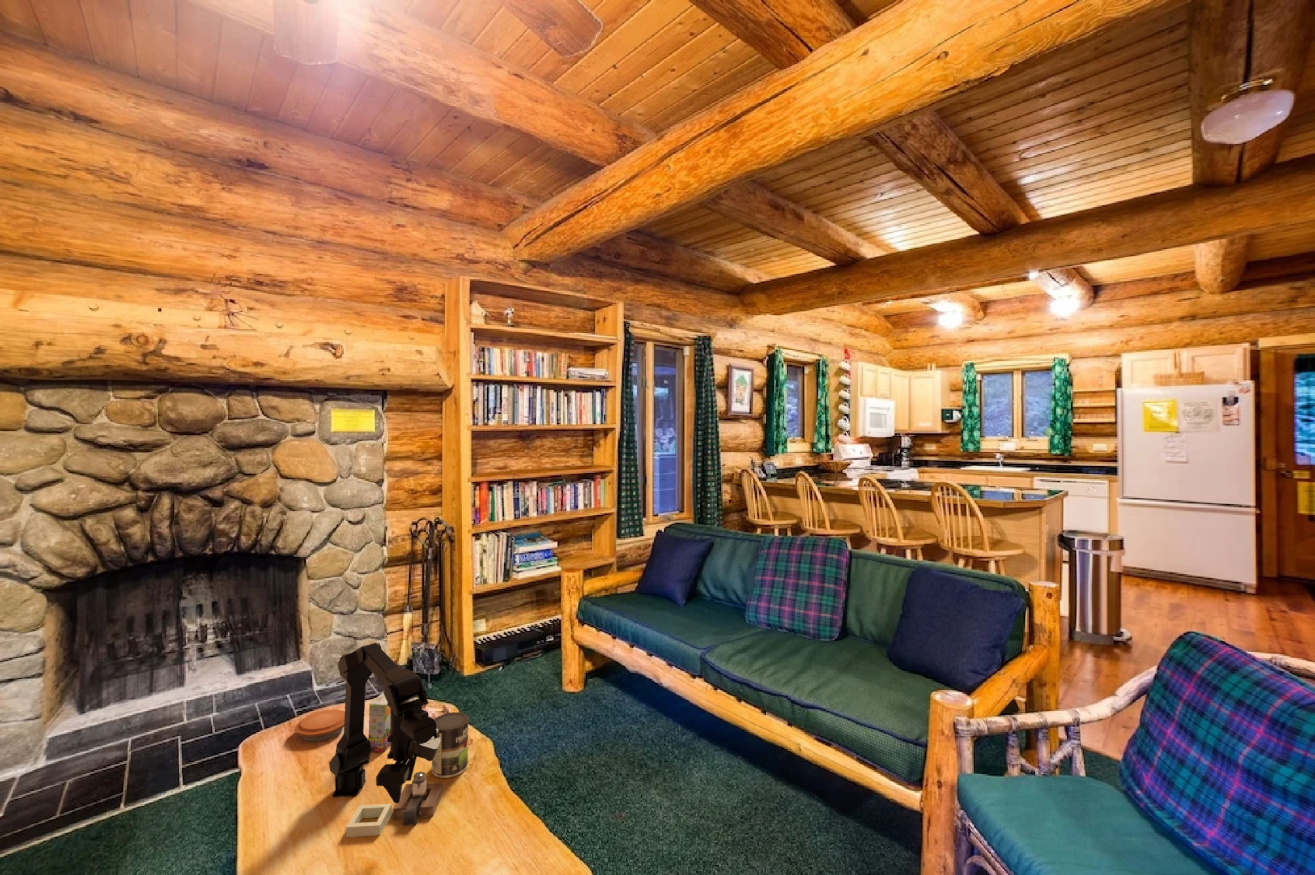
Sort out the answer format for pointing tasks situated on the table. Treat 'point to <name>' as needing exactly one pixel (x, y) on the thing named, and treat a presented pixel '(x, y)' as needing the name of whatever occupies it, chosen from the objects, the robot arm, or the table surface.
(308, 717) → the pie
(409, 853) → the table surface
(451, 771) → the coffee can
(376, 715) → the snack box
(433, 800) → the socket block
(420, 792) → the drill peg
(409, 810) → the dark grey block
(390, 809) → the beige square frame
